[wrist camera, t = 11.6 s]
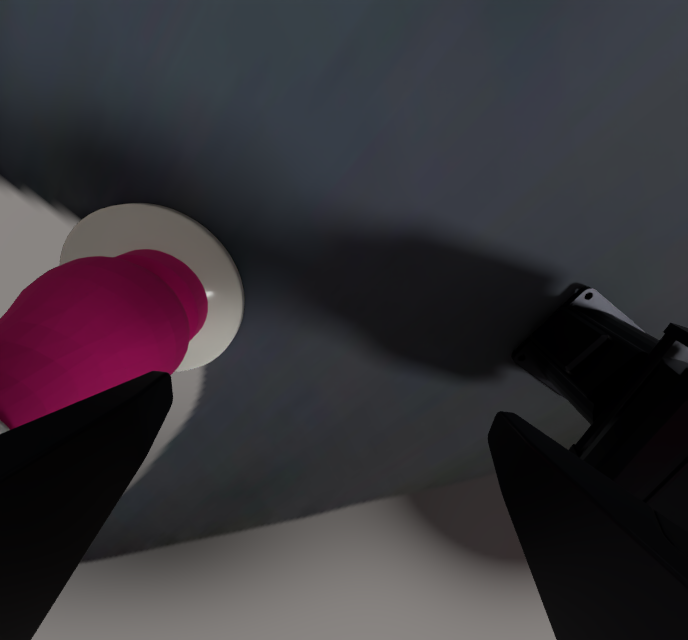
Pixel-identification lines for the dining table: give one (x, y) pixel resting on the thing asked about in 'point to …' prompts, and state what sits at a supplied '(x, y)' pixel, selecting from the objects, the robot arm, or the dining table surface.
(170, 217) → the saucer
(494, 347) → the dining table surface
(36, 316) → the pepper mill
